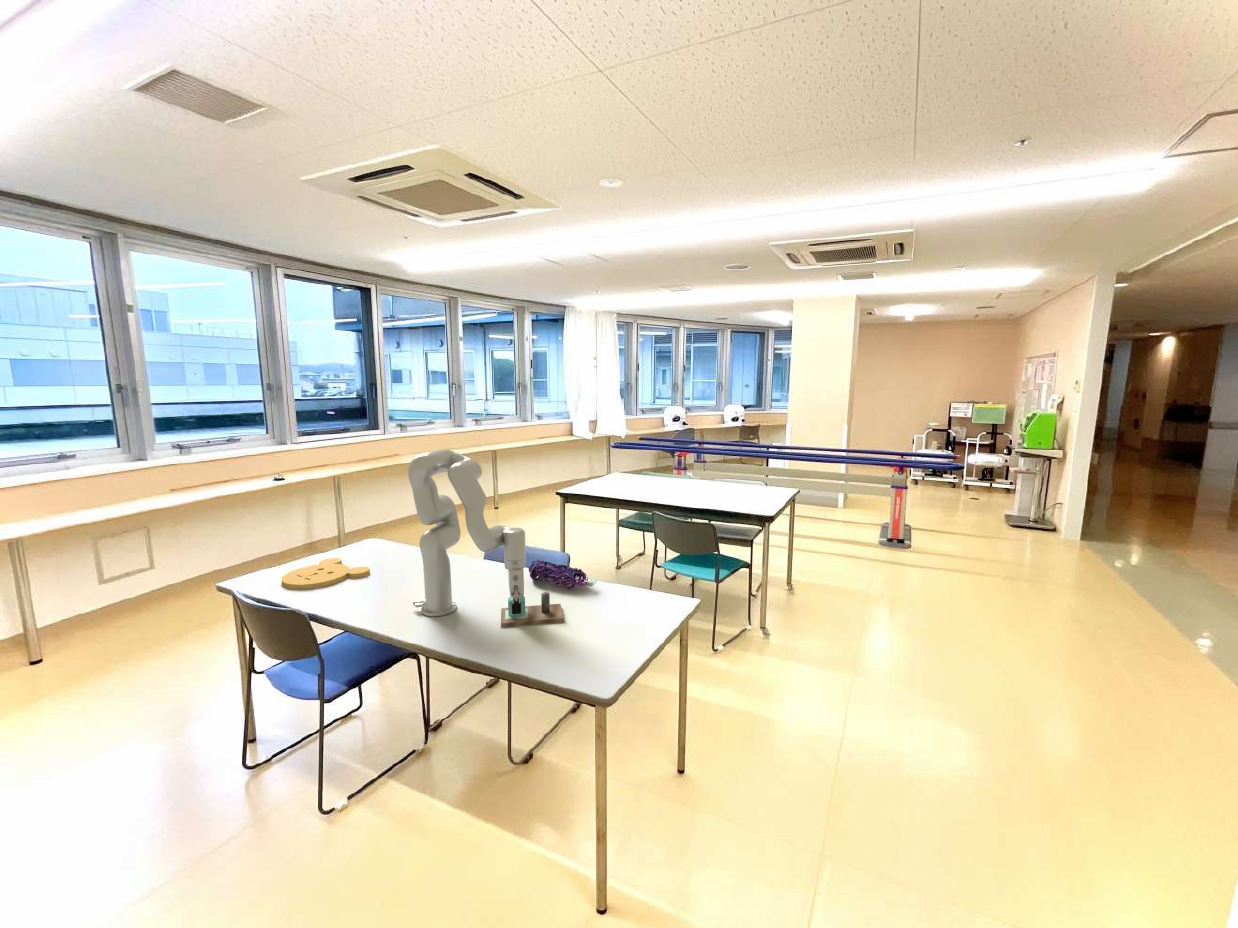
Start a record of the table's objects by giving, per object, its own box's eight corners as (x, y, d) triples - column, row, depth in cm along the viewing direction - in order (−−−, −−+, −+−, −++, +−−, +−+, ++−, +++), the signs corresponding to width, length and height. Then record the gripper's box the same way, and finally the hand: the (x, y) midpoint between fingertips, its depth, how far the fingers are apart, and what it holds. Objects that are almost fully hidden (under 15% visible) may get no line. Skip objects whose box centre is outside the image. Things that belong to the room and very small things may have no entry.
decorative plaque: (305, 596, 214) (374, 574, 240) (305, 590, 214) (373, 569, 239) (266, 581, 231) (335, 562, 256) (266, 575, 231) (334, 556, 256)
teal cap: (525, 616, 192) (525, 600, 191) (508, 617, 191) (508, 601, 190) (524, 609, 198) (524, 594, 197) (508, 611, 197) (507, 595, 196)
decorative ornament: (544, 558, 238) (602, 568, 224) (541, 582, 237) (599, 594, 223) (525, 558, 227) (585, 568, 212) (522, 583, 226) (582, 595, 211)
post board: (500, 627, 187) (500, 604, 186) (501, 611, 200) (500, 590, 198) (563, 622, 192) (563, 599, 190) (560, 607, 204) (560, 586, 203)
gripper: (526, 570, 184) (527, 617, 186) (525, 554, 201) (526, 597, 203) (504, 571, 182) (505, 619, 185) (504, 555, 199) (505, 599, 202)
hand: (516, 607), depth 194 cm, fingers open, 9 cm apart
